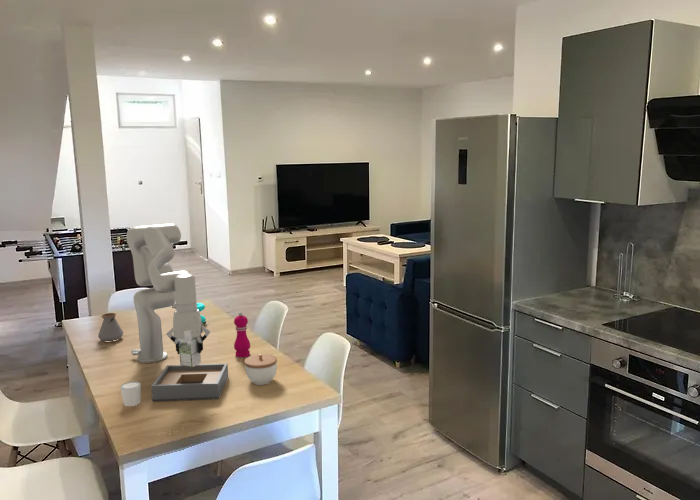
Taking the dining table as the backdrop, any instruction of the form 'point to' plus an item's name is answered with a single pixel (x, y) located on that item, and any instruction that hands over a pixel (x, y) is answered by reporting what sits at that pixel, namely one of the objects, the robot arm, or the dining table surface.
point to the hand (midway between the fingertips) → (189, 352)
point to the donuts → (201, 307)
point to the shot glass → (131, 393)
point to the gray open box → (190, 382)
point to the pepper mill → (241, 337)
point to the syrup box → (189, 350)
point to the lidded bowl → (261, 368)
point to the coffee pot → (110, 328)
